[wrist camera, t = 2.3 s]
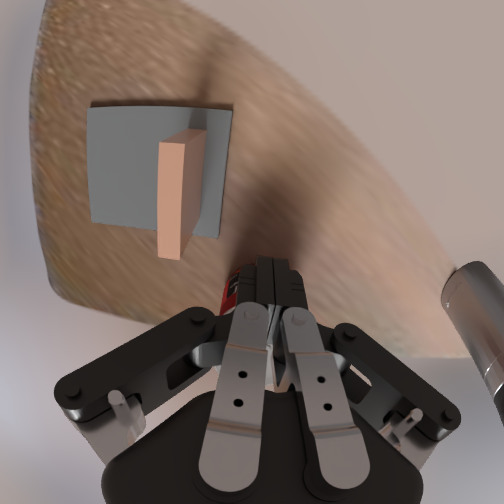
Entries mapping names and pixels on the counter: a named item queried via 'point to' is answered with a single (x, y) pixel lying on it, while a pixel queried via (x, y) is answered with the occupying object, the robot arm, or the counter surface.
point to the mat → (150, 162)
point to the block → (179, 190)
